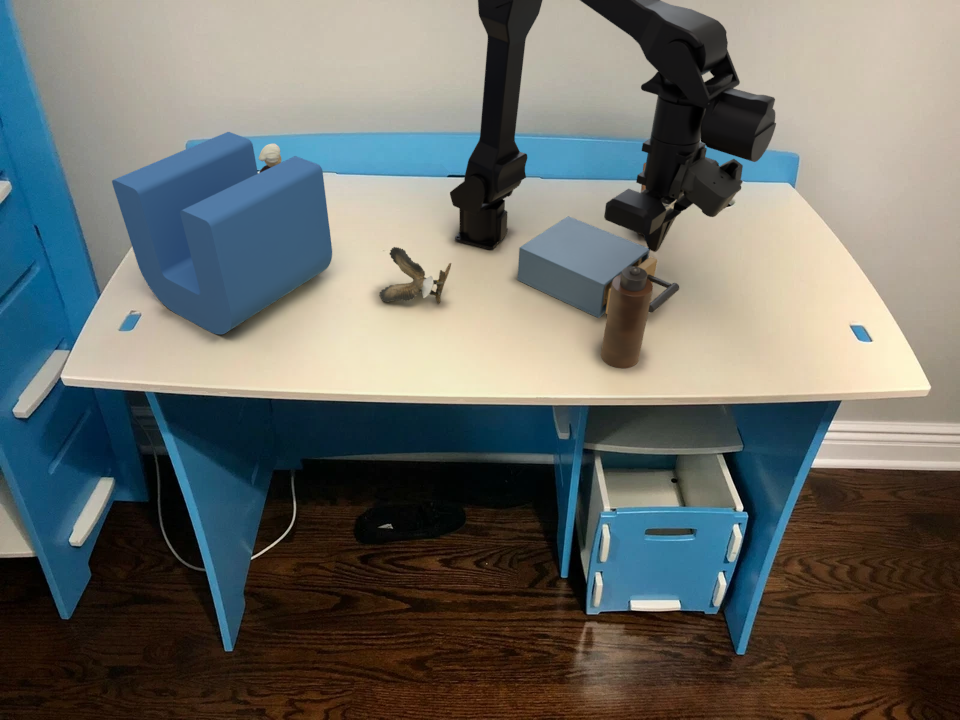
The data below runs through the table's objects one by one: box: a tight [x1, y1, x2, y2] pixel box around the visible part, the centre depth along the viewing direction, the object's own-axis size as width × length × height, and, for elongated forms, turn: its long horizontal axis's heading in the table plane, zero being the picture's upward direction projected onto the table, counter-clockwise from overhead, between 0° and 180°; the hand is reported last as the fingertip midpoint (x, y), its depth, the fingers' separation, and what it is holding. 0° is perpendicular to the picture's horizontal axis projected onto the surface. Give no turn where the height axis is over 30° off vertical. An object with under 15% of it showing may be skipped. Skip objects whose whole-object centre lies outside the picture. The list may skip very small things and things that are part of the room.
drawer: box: [602, 256, 680, 315], centre depth 106 cm, size 18×11×4 cm, turn 50°
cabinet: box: [517, 215, 651, 319], centre depth 108 cm, size 14×12×6 cm
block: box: [111, 131, 333, 335], centre depth 100 cm, size 18×18×18 cm
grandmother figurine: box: [258, 143, 282, 173], centre depth 118 cm, size 8×4×13 cm, turn 58°
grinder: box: [600, 266, 654, 369], centre depth 92 cm, size 5×5×13 cm
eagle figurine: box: [379, 246, 452, 304], centre depth 104 cm, size 8×7×9 cm
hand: (653, 249), depth 99 cm, fingers closed
